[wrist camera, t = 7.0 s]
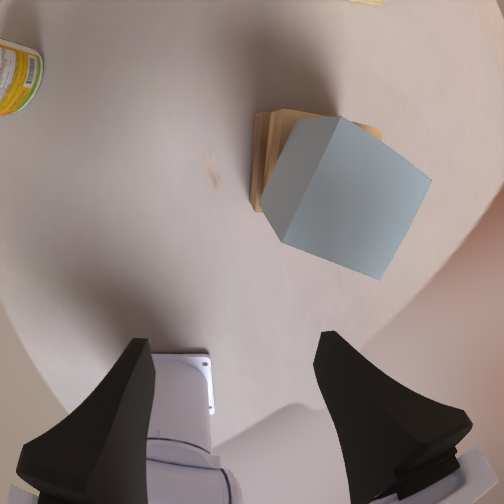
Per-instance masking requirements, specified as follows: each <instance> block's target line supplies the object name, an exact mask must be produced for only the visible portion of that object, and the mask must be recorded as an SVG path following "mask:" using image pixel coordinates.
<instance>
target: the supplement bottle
mask: <svg viewBox="0 0 504 504" xmlns="http://www.w3.org/2000/svg"><path fill="white" fill-rule="evenodd" d="M42 74H43V62H42V58H41V56H40V54H39V53H38V52H37V51H36V50H34V49H32V48H29V47H26V46H23V45H20V44H17V43H14V42H10V41H7V40H4V39H1V38H0V115H4V114H13V113H16V112H18V111H20V110H21V109H23V108H24V107H25V106H26V105H27V104H28V103H29V102H30V101H31V100H32V98H33V97H34V95H35V94H36V92H37V90H38V87H39V85H40V82H41V79H42Z"/></svg>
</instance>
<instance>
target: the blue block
mask: <svg viewBox="0 0 504 504" xmlns="http://www.w3.org/2000/svg"><path fill="white" fill-rule="evenodd" d="M431 181H432V179H430V178H429V177H428V176H427V175H425V174H424V173H423V172H422V171H420V170H419V169H418V168H417V167H415V166H414V165H413V164H411V163H410V162H409V161H408V160H406V159H405V158H404V157H402V156H401V155H399V154H398V153H397V152H395V151H394V150H393V149H391V148H390V147H388V146H387V145H386V144H384V143H383V142H381V141H380V140H378V139H377V138H375V137H374V136H372V135H371V134H369V133H368V132H366V131H365V130H363V129H362V128H360V127H358V126H357V125H355V124H354V123H352V122H350V121H349V120H347V119H345V118H344V117H342V116H333V117H318V118H306V119H296V121H295V123H294V126H293V128H292V130H291V132H290V134H289V136H288V138H287V141H286V143H285V145H284V147H283V149H282V151H281V154H280V156H279V158H278V160H277V162H276V164H275V167H274V169H273V171H272V173H271V175H270V178H269V180H268V182H267V184H266V186H265V188H264V191H263V193H262V195H261V197H260V199H259V202H258V205H259V206H260V208H261V210H262V211H263V213H264V215H265V216H266V218H267V219H268V221H269V223H270V224H271V226H272V228H273V229H274V231H275V233H276V234H277V236H278V238H279V239H280V241H281V242H282V243H284V244H287V245H289V246H292V247H295V248H297V249H300V250H303V251H305V252H308V253H310V254H313V255H316V256H318V257H321V258H323V259H326V260H329V261H331V262H334V263H336V264H339V265H341V266H344V267H347V268H349V269H352V270H354V271H357V272H359V273H362V274H364V275H367V276H369V277H372V278H374V279H377V280H379V281H380V279H381V278H382V276H383V274H384V273H385V271H386V269H387V267H388V266H389V264H390V262H391V260H392V259H393V257H394V255H395V253H396V252H397V250H398V248H399V246H400V244H401V242H402V241H403V239H404V237H405V235H406V233H407V231H408V229H409V227H410V225H411V223H412V221H413V219H414V217H415V215H416V213H417V211H418V209H419V207H420V205H421V203H422V201H423V199H424V197H425V194H426V192H427V190H428V188H429V186H430V183H431Z"/></svg>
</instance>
